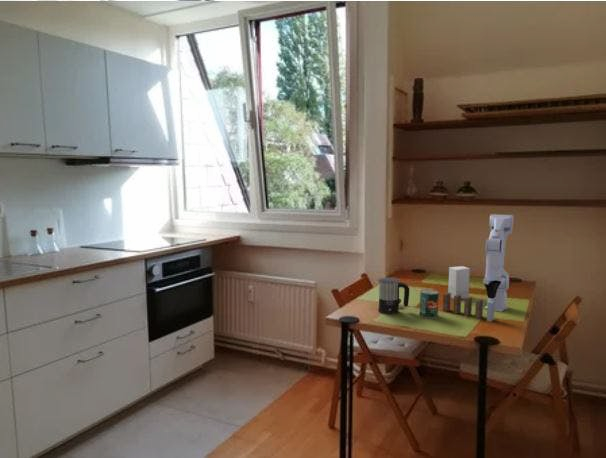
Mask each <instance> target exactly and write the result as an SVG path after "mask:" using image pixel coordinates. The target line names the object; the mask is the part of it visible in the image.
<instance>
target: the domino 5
mask: <svg viewBox="0 0 606 458" xmlns="http://www.w3.org/2000/svg"><path fill="white" fill-rule="evenodd" d="M487 302H488V301H487ZM486 306H487V305H486ZM494 320H495V302H494V301H490V302H488V306H487V310H486V322H489V323H490V322H493V321H494Z"/></svg>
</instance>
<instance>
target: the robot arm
mask: <svg viewBox="0 0 606 458" xmlns="http://www.w3.org/2000/svg"><path fill="white" fill-rule="evenodd" d="M513 227H514V215H513V214H498V213H497V214H493V213H491V214H490V216H489V230H490V233H489V237H488V238H487V239H486V241H485V256H486V260H485V275H484V278H483V279H482V281H483V283H482V284H483V285H484V287H485V290H486V294H487V304H486V306H483V309H487V306H488V302H490V301H494V302H495V310H494V312H495V311H496V312H503V311H504V310H507V309H508V308H509V306H508V305H507V303H508V301H507V299H508V293H507V291H508V290H509V286H510V285H509V284H510V274H509V272H507V271H506V270H505V269H504V265H505V264H504V263H505V253H506V244H507V242H506V241H507V237H508V235H510V234H512V233H513V230H514V229H513Z"/></svg>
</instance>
